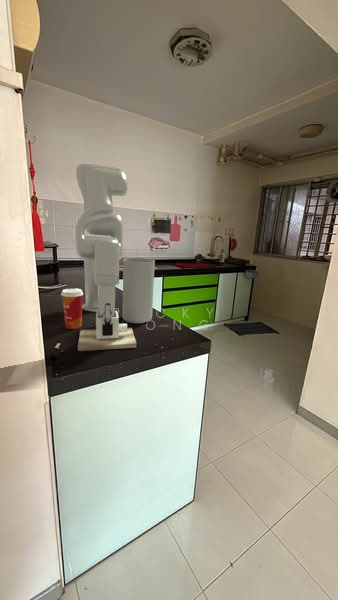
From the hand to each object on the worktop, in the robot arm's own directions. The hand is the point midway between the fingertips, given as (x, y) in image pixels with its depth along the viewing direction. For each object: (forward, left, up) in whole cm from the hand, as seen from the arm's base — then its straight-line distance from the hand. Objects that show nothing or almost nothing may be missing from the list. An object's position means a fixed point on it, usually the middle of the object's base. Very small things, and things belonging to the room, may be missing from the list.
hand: (107, 330), depth 85 cm
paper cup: (-14, -12, -4) cm, 19 cm away
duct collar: (0, +2, -1) cm, 2 cm away
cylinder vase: (-20, +13, -4) cm, 24 cm away
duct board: (0, 0, -4) cm, 4 cm away
